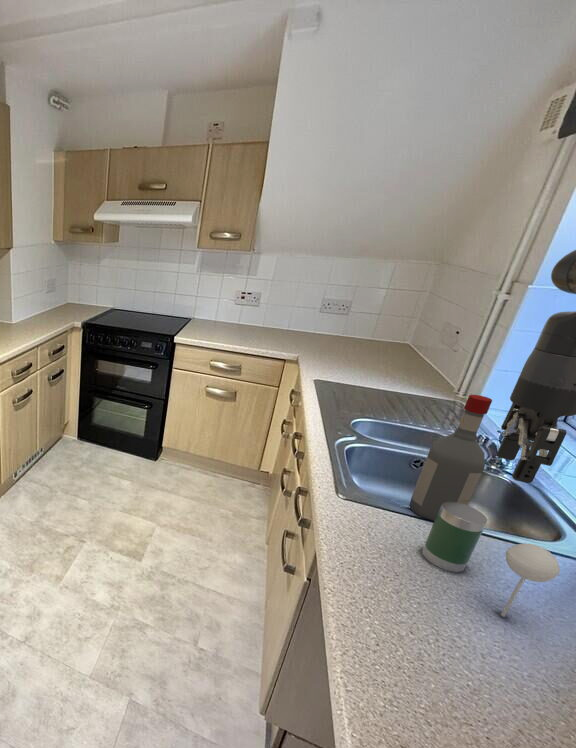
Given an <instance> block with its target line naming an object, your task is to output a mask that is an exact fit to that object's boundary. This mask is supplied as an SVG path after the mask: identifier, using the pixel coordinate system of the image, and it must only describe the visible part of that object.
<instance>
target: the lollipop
mask: <svg viewBox="0 0 576 748" xmlns="http://www.w3.org/2000/svg"><path fill="white" fill-rule="evenodd" d="M505 561H506V564H507V566H508V567H509V569H510V570H511V571H512V572H514V574H516V575H517V576H518V577H520V579H519V580H518V582H517V584H516V586H515V588H514V590H513V591H512V593H511V595H510V597H509V598H508V600H507V602H506V604H505V606H504V608H503V610H502V612H501V614H500V616H501V617H503V618H504V617H506V615H507V613H508V611H509V610H510V607H511V606H512V604H513V602H514V600H515V598H516V596H517V595H518V593H519V591H520V589H521V587H522V586H523V584H524V582H525V580H527V581H529V582H537V583H545V582H550V581H552V580H553V579H555V578H556V577H558V576H559V575H560V572H561V568H560V564H559V561H558V559H557V558H556V556H554V555H553V554H552V553H551V551H549V550H547V549H546V548H544V547H541V546H539V545H536V544H532V543H516V544H514V545H512V546H510V547H509V548H507V550H506V551H505Z"/></svg>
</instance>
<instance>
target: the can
mask: <svg viewBox="0 0 576 748" xmlns="http://www.w3.org/2000/svg"><path fill="white" fill-rule="evenodd" d="M487 522H488V517H487V516H486V515H485V514H484V513H482V512H481V511H480V510H478V509H476V508H474V507H472V506H469V505H468V506H467V505H464V504H461V503H457V502H444V503H443V504H442V506H441V508H440V510H439V512H438V514H437V517H436V519H435V521H433V524H432V526H431V529H430V531H429V534H428V535H427V538H426V541H425V542H424V546H423V549H422V552H421V553H422V555H423V557H424V558H425V559H426V560H427V561H428V562H429V563H431V564H433V565H434V566H435V567H438V568H440V569H443V570H445V571H448V572H452V573H461V572H463V571H464V570H465V568H466V566H467V565H468V563H469V561H470V559H471V557H472V554H473V553H474V550H475V548H476V546H477V544H478V542H479V540H480V538H481V536H482V534H483V532H484V529H485V526H486V524H487Z"/></svg>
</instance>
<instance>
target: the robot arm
mask: <svg viewBox="0 0 576 748" xmlns="http://www.w3.org/2000/svg"><path fill="white" fill-rule="evenodd" d="M552 268H553V269H552V270H551V273H550V279H551V282H552V284H553V286H555V288H557V289H559V290H560V291H562V292H565V293H568V294H571V295H576V249H574V250H572V251H570V252H569V253H567V254H565V255H564V256H563V257H562V258H560V259H559V260H558V261H557V262H556V263H555V265H554V266H553V267H552ZM509 400H510V401H511V402H512V403H511V406H510V408H509V410H508V412H507V414H506V416H505V418H504V420H503V423H502V424H501V427H500V428H501V430H502V431H503V432H502V437H503V439H502V441H501V443H500V446H499V448H498V450H497V452H496V457H498V458H499V459H503V460H506V461H507V460H508V461H515V459H516V457H517V455H518V453H519V451H520V450H521V452H520V457H519V460H518V462H517V464H516V466H515V468H514V470H513V472H512V474H511V477H512V479H513V480H514V481H517V482H521V483H525V484H531V483H533V481H534V479H535V478H536V475H537V473H538V472H539V470H540V467H541V466H542V465H543V466H548V467H551V466H552V465H553V464H554V461H555V459H556V457H557V454H558V452H559V450H560V449H561V446H562V444H563V442H564V440H565V438H566V435H567V429H564V428H558V421H559V418H562V417H573V416H576V311H574V310H573V311H572V310H571V311H569V310H568V311H559V312H556V313H553V314H552V315H550V316H549V317H548V318H547V320H546V321H545V323H544V325H543V328H542V330H541V332H540V334H539V336H538V339H537V341H536V344H535V345H534V348H533V350H532V351H531V353H530V354H529V356H528V357H527V359H526V361H525V362H524V364H523V367H522V369H521V372H520V374H519V376H518V378H517V380H516V383H515V385H514V387H513V389H512V392H511V394H510V396H509Z"/></svg>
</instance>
